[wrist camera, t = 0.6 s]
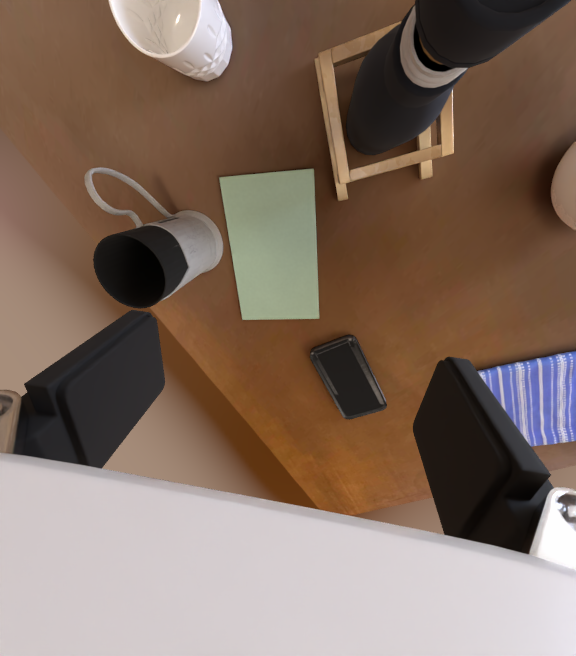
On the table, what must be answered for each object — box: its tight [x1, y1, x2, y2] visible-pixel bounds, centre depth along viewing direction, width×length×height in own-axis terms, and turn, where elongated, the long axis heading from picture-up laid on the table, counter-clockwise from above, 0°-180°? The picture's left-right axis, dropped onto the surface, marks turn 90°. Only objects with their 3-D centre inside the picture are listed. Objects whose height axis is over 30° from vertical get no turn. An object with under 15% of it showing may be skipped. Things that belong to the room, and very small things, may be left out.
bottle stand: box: [314, 21, 454, 201], centre depth 29 cm, size 14×11×9 cm
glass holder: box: [85, 167, 223, 308], centre depth 35 cm, size 9×14×15 cm, turn 21°
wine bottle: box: [346, 0, 571, 155], centre depth 20 cm, size 6×6×30 cm
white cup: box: [108, 0, 232, 81], centre depth 28 cm, size 8×8×10 cm
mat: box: [219, 169, 319, 320], centre depth 41 cm, size 20×12×1 cm, turn 4°
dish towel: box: [477, 351, 576, 447], centre depth 45 cm, size 17×24×3 cm
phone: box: [310, 335, 387, 419], centre depth 49 cm, size 8×1×15 cm
